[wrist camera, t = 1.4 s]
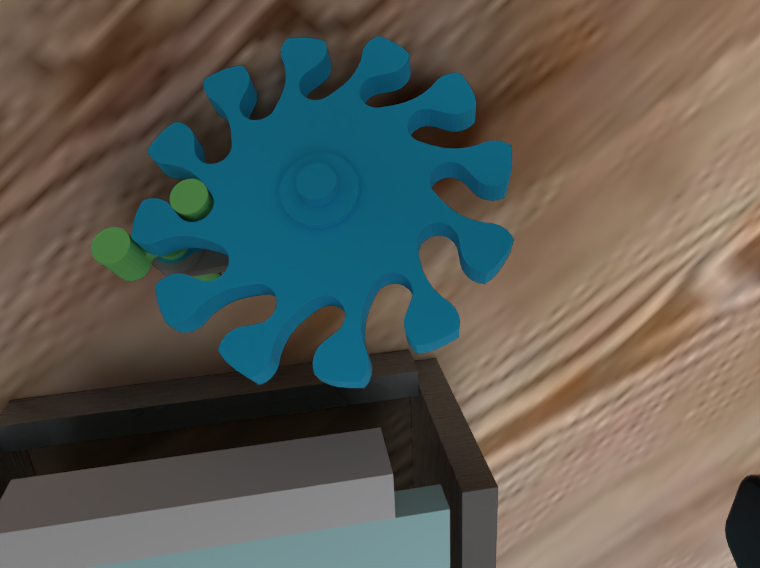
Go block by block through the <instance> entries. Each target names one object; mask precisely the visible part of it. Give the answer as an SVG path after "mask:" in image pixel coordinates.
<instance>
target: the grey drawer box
mask: <svg viewBox="0 0 760 568" xmlns="http://www.w3.org/2000/svg"><path fill="white" fill-rule="evenodd" d="M369 358H370V360H371V364H372V374H371V378H370V380H369V383H368V384H367V385H366V387H365V388H344V387H337V386H333V385H329V384H327V383H325V382H322V381H321V380H320V379H319V378H318V377H317V376H316V375H315V373H314V370H313V362H310V363H302V364H294V365H286V366H279V367H278V368H277V371H276V373H275V374H274V375H273V376H272V378H271V379H269V380H268V381H267V382H265V383H263V384H261V385H259V384H257V383H256V382H254V381H252V380H251V379H249V378H247V377H246V376H244V375H243V374H241V373H240V372H231V373H223V374H216V375H208V376H200V377H192V378H184V379H176V380H168V381H160V382H153V383H145V384H137V385H129V386H121V387H113V388H105V389H97V390H90V391H82V392H74V393H66V394H58V395H50V396H42V397H34V398H27V399H19V400H11V401H10V402H9V403H8V405H7V406H6V408H5V409H4V411H3V412H2V414H1V415H0V500H1V498H2V496H3V494H4V492H5V490H6V488H7V487H8V485H9V483H10V481H11V480H14V479H21V478H28V477H35V473H34V470H33V467H32V464H31V461H30V458H29V455H28V452H27V449H33V448H40V447H47V446H54V445H62V444H69V443H76V442H84V441H91V440H98V439H106V438H113V437H120V436H128V435H135V434H142V433H150V432H157V431H164V430H172V429H179V428H186V427H194V426H201V425H208V424H216V423H223V422H230V421H238V420H245V419H252V418H260V417H267V416H274V415H282V414H289V413H296V412H304V411H311V410H318V409H326V408H333V407H340V406H347V405H355V404H362V403H369V402H377V401H384V400H391V399H399V398H406V397H411V420H412V447H413V474H414V488H419V487H426V486H432V485H439V484H441V486H442V489H443V492H444V495H445V497H446V500H447V503H448V506H449V508H450V568H496V541H497V509H498V486H497V484H496V482H495V480H494V477H493V475H492V473H491V471H490V469H489V467H488V465H487V463H486V461H485V459H484V457H483V455H482V453H481V451H480V449H479V446H478V444H477V442H476V440H475V438H474V436H473V434H472V432H471V430H470V428H469V426H468V424H467V422H466V420H465V418H464V415H463V413H462V411H461V409H460V407H459V405H458V403H457V401H456V399H455V397H454V395H453V393H452V391H451V389H450V386H449V384H448V382H447V380H446V378H445V376H444V374H443V372H442V370H441V368H440V366H439V364H438V362H437V360H436V358H435V359H427V360H420V361H413V358H412V356H411V354H410V351H409V350H405V351H397V352H389V353H381V354H373V355H369Z"/></svg>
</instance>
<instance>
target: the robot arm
mask: <svg viewBox="0 0 760 568" xmlns="http://www.w3.org/2000/svg"><path fill="white" fill-rule="evenodd" d="M725 533H726V539H727V543H728V546H729V548H730V551H731V553H732V556H733V558H734V560H735V563H736V565H737V568H760V475H749V476H746V477H745V478H744V479H743V480H742V481H741V483H740V485H739V488H738V491H737V493H736V496H735V499H734V501H733V504H732V507H731V510H730V512H729V515H728V518H727V520H726V526H725Z"/></svg>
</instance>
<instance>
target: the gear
mask: <svg viewBox="0 0 760 568" xmlns="http://www.w3.org/2000/svg"><path fill="white" fill-rule="evenodd" d="M281 58H282V61H283V63H284V66H285V71H286V81H285V86H284V90H283V93H282V95H281V98H280V100H279V102H278V103H277V105H276V107H275V109H274V111H273V112H272V113H271V114H270V115H269V116H268V117H266V118H264V119H261V120H250V119H249V117H250V115H251V113H252V111H253V109H254V107H255V105H256V103H257V92H256V90H255V87H254V85H253V83H252V81H251V78H250V76H249V74H248V72H247V70H246V69H245V68H244V67H243V66H234V67H230V68H227V69H224V70H222V71H219V72H217V73H215V74H213V75H211V76H209V77H207V78H205V80H204V90H205V93H206V95H207V96H208V98H209V100H210V102H211V103H212V105H213V107H214V109H215V110H216V112H217V113H218V114H219V115H220V116H222V117H223V118H225V119H226V120H227V121H228V122H229V123H230V129H231V138H232V148H231V151H230V153H229V155H228V156H227V157H226V158H225V159H224V160H222V161H221V162H218V163H214V164H206V163H205V154H204V149H203V147H202V145H201V144H200V142H199V141H198V139H197V138H196V136H195V135H194V133H193V132H192V130H191V129H190V128H189V127H188V126H187V125H185V124H183V123H180V122H175V123H173V124H171V125H170V126H168V127H167V128H166V129H165V130H164V131H162V132H161V134H160V135H159V136H158V137H157V138H156V139H155V140H154V142H153V143H152V144H151V146H150V147H149V148H148V153H149V155H150V156H151V158H152V159H153V160H154V161H155V163H156V164H157V165H158V166H159V167H160V169H161V170H162V171H163V172H164V173H165V174H166V175H167V176H169V177H172V178H176V179H184V180H183V181H181V182H179V183H178V184H177V185H176V186H175V187H174V188H173V189H172V191H171V194H170V204H171V205H170V204H169V203H168V202H166V201H164V200H162V199H158V198H150V199H146V200H143V201H142V203H141V205H140V206H139V208H138V210H137V213H136V215H135V219H134V223H133V228H132V235H129V234H128V233H127V232H126V231H125V230H124V229H122V228H119V227H109V228H106V229H104V230H102V231H101V232H99V233H98V234H97V235H96V237H95V238H94V240H93V242H92V245H91V252H92V255H93V257H94V258H95V260H96V261H98V262H99V263H101V264H102V265H103V266H105V267H106V268H108V269H109V270H110V271H112V272H113V273H115V274H116V275H117V276H119V277H120V278H122V279H123V280H126V281H136V280H138V279H141V278H142V277H144V276H145V275H146V274H147V273H148V271H149V270H150V267H151V264H153V265H154V266H155V267H156V268H157V269H159V270H160V271H161V272H162V273H163V274H165V275H166V276H167V277H165V278H163V279H162V280H160V281H159V282H158V283H157V284H156V296H157V302H158V305H159V308H160V311H161V313H162V315H163V317H164V320H165V322H166V324H168V325H169V326H171V327H172V328H174V329H175V330H177V331H178V332H184V333H186V332H192V331H194V330H196V329H198V328H200V327H201V326H202V325H204V323H205V322H206V321H207V320H208V319H209V318H210V317H211V316H212V315H213V314H214V313H216V312H217V311H218V310H219V309H221V308H222V307H224V306H226V305H227V304H229V303H231V302H234V301H236V300H239V299H243V298H247V297H252V296H258V295H265V294H269V295H273V296H275V297H276V299H277V305H276V309H275V311H274V313H273V315H272V316H271V317H270V318H269V319H268V320H266V321H264V322H263V323H259V324H254V325H248V326H242V327H238V328H236V329H234V330H232V331H230V332H229V333H228V334H227V335H226V336H225V337H224V338H223V339H222V341H221V343H220V345H219V349H218V351H219V353H220V354H221V356H222V357H223V359H224V360H225V361H226V362H227V363H228V364H229V365H230V366H232V367H233V368H234V369H236V370H237V371H238V372H240V373H241V374H243V375H244V376H246V377H247V378H249V379H251V380H252V381H254V382H256V383H257V384H259V385H261V384H263V383H265V382H267V381H268V380H269V379H271V378H272V376H273V375H274V374H275V373H276V371H277V368H278V366H279V362H280V357H281V353H282V351H283V348H284V346H285V344H286V342H287V340H288V338H289V337H290V335H291V334H292V333H293V331H294V330H295V329H296V328H297V326H298V325H300V324H301V323H302V322H303V321H304V320H305V319H306V318H308V317H309V316H310V315H312V314H313V313H314V312H316V311H317V310H318V309H320V308H322V307H325V306H331V305H332V306H337V307H339V308H341V309H342V310H344V311H345V320H344V322H343V325H342V326H341V328H340V329H339V330H338V331H337V332H336V333H334V334H333V335H332V336H331V337H329V338H328V339H327V340H325V341H324V342H323V343H322V344H321V345H320V346H319V347H318V349H317V350H316V352H315V355H314V358H313V370H314V373H315V375H316V376H317V377H318V378H319V379H320V380H321V381H322V382H325V383H327V384H329V385H333V386H337V387H344V388H365V387H366V385H367V384H368V383H369V380H370V378H371V374H372V364H371V360H370V358H369V355H368V353H367V348H366V343H365V325H366V319H367V316H368V313H369V310H370V307H371V305H372V303H373V300H374V298H375V296H376V294H377V292H378V291H379V290H380V289H381V288H382V287H384V286H386V285H388V284H401V285H403V286H405V287H407V288H408V289H409V290H410V291H411V293H412V294H413V296H412V300H411V302H410V305H409V307H408V310H407V312H406V315H405V319H404V327H405V333H406V337H407V341H408V343H409V345H410V346H411V348H412V349H413V350H414V351H415V352H416V353H424V352H429V351H432V350H436V349H438V348H440V347H442V346H444V345H446V344H448V343H450V342H452V341H453V340H455V339H457V338H458V337H459V327H460V320H459V315H458V313H457V311H456V309H455V308H454V306H453V305H452V304H451V303H450V302H448V301H447V300H445V299H444V298H443V297H441V296H440V295H439V294H438V293H437V292H436V291H435V290H434V289H433V287H432V286H431V284H430V283H429V282H428V280H427V278H426V276H425V274H424V272H423V270H422V267H421V263H420V259H419V253H418V251H419V248H420V246H421V244H422V243H423V242H424V241H425V240H426V239H428V238H430V237H432V236H444V237H447V238H449V239H451V240H452V241H453V242H454V243H455V245H456V246H457V249H458V254H459V259H460V264H461V267H462V270H463V271H464V273H465V274H466V275H467V276H468V278H470V279H471V280H473V281H475V282H477V283H481V284H485V283H487V282H488V281H490V280H491V279H492V278H493V277H494V276H495V275H496V274H497V273H498V272H499V270H500V269H501V268H502V266H503V265H504V263H505V261H506V259H507V258H508V256H509V254H510V252H511V249H512V245H513V241H514V239H513V237H512V235H511V234H510V233H509V232H508V231H507V230H506V229H505V228H503V227H502V226H500V225H497V224H494V223H485V222H479V221H475V220H471V219H469V218H467V217H464V216H462V215H460V214H458V213H457V212H455V211H454V210H452V209H451V208H450V207H449V206H447V205H446V204H445V203H444V202H443V201H442V200H441V199H440V198H439V197H438V196H437V194H436V193H435V192H434V191H433V190H432V187H433V185H434V184H435V183H436V182H437V181H439V180H441V179H443V178H456V179H459V180H461V181H462V182H463V183H464V184H465V185H466V186H467V187H468V188H469V189H470V190H471V191H472V192H473V193H474V194H475V195H477V196H478V197H480V198H482V199H485V200H491V201H494V200H500V199H503V198H504V197H505V195H506V192H507V189H508V184H509V179H510V174H511V169H512V148H511V145H509V144H507V143H506V142H502V141H494V140H492V141H487V142H484V143H481V144H479V145H476V146H472V147H467V148H457V149H452V148H442V147H437V146H433V145H429V144H426V143H423V142H420V141H417V140H415V139H414V138H413V137H412V136H411V135H412V133H413V132H414V131H415V130H417V129H418V128H420V127H424V126H433V127H437V128H440V129H443V130H447V131H462V130H465V129H467V128H469V127H470V126H472V125H473V124H474V123H475V114H476V100H475V96H474V93H473V91H472V89H471V87H470V86H469V84H468V82H467V81H466V80H465V78H464V77H463V76H462V74H461V73H450V74H446V75H444V76H442V77H441V78H439V79H438V80H437V81H436V82H435V83H434V84H433V85H432V87H430V88H429V89H428V90H427V91H426V92H424V93H423V94H421V95H420V96H418V97H416V98H415V99H412V100H410V101H407V102H405V103H401V104H397V105H392V106H386V107H379V108H375V107H370V106H368V105H366V104H365V102H366V101H367V100H368V99H369V98H370V97H372V96H374V95H377V94H381V93H387V92H392V91H396V90H398V89H400V88H402V87H403V86H404V85H405V84H406V83H407V82H408V80H409V78H410V75H411V69H410V55H409V54H408V52H407V51H406V50H405V49H404V48H402V47H401V46H399V45H398V44H396V43H394V42H392V41H390V40H388V39H386V38H383V37H381V36H377V37H375V38H373V39H372V40H370V41H369V42H368V43H367V44H366V45H365V47H364V49H363V53H362V58H361V61H360V63H359V66H358V68H357V69H356V71H355V73H354V74H353V76H352V77H351V78H350V79H349V80H348V81H347V82H346V83H345V84H344V85H343V86H341V87H340V88H339V89H337V90H336V91H335V92H333V93H332V94H330V95H329V96H327V97H326V98H323V99H320V100H311V99H308V98H306V97H307V95H308V94H309V93H310V92H311V91H312V90H314V89H315V88H316V87H318V86H319V85H321V84H322V83H323V82H325V81H326V80H327V78H328V77H329V75H330V73H331V62H330V58H329V54H328V50H327V46H326V43H325V41H322V40H319V39H314V38H288V39H287V40H286V41H285V42H284V44H283V46H282V48H281ZM171 206H172V207H171ZM220 272H224V273H223V275H220Z"/></svg>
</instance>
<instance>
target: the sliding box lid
mask: <svg viewBox="0 0 760 568" xmlns="http://www.w3.org/2000/svg"><path fill="white" fill-rule="evenodd" d="M0 568H450V508H449V506H448V503H447V500H446V497H445V495H444V492H443V489H442V486H441V484H439V485H432V486H426V487H419V488H413V489H406V490H400V491H394V480H393V471H392V468H391V464H390V460H389V457H388V453H387V449H386V446H385V442H384V438H383V435H382V431H381V427H380V428H373V429H366V430H359V431H352V432H345V433H338V434H331V435H324V436H317V437H310V438H303V439H295V440H288V441H281V442H274V443H267V444H260V445H253V446H246V447H239V448H232V449H225V450H218V451H211V452H204V453H197V454H190V455H183V456H176V457H169V458H162V459H154V460H147V461H140V462H133V463H126V464H119V465H112V466H105V467H98V468H91V469H84V470H77V471H70V472H63V473H56V474H49V475H42V476H35V477H28V478H21V479H14V480H11V481H10V483H9V485H8V487H7V488H6V490H5V492H4V494H3V496H2V498H1V500H0Z"/></svg>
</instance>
